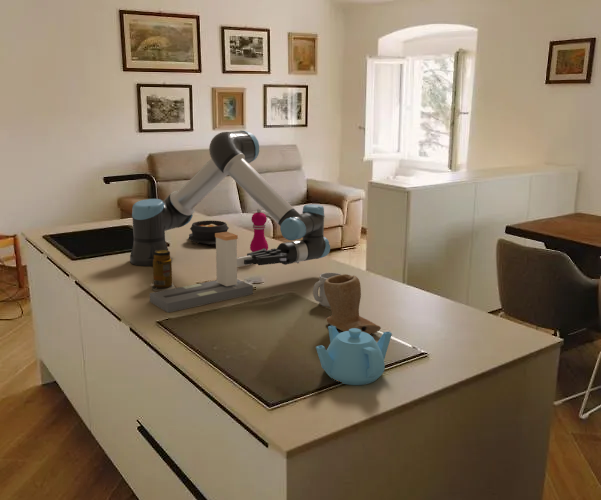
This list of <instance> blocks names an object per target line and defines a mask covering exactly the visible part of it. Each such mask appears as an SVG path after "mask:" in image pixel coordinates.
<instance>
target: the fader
mask: <svg viewBox="0 0 601 500" xmlns="http://www.w3.org/2000/svg"><path fill="white" fill-rule="evenodd" d="M215 237H216V244H215V255H216V256H215V263H216V269H215V270H216V280H217V282H218V283H220V284H222V285H224V286H231V285H236V284H237V279H238V267H237V257H238V241H237V240H238V239H239V237H238V234H236V233H232V232H229V231H227V232H221V233H215Z"/></svg>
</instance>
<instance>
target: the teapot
mask: <svg viewBox="0 0 601 500" xmlns="http://www.w3.org/2000/svg"><path fill="white" fill-rule="evenodd" d="M327 329H328V335H329V342H330V343H329V344H328V347H327V348H326V347H325V346H324V345H322V344H321V345H317V346H315V349H316V352H317V355H318V359H319V362H320V365H321V369H323V370H324V371H325V373H326V374H327V375H328V376H329V378H330V379H332V378H333V379H335V380H338V381H340V382H342V383H341V384H343V383H344V384H343V385H347V386H348V385H349V386H364V385H369V384H372V383H374V382H376V381H377V380H378V379H379V378H380V377H381V376H382V375H383V374H384V372H385V368H386V367H385V358H386V355H387V351H388V348H389V344H390V341H391V338H392V335H393V334H392V332H391V331H383V333H382V335H381V336H380V338H379V339H378V341H376V340H375V338H374V336H372V334H371V335H370V334H368V333H365V332H361V330H360V329H357V328H352V329H349V331H345V332H343V331H340V332H339V331H338V330H337V328H336V327H335V326H332V325H329V326H327ZM333 379H332V380H333ZM335 380H334V381H335Z"/></svg>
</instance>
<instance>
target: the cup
mask: <svg viewBox="0 0 601 500" xmlns="http://www.w3.org/2000/svg"><path fill="white" fill-rule="evenodd" d="M336 275H343V274H341V273H339V272H322V273H321V274H320V275H319V280H318V281H316V282H315V283H314V285H313V289H312V295H313V298H314V300H315V301H316V302H319V304H320V305H321V306H322V307H328V308H331V307H330V305H329V302H328V300H327V298H326V295H325V291H324V282H325V280H326V279H327V278H329V277H333V276H336Z"/></svg>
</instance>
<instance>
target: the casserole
mask: <svg viewBox="0 0 601 500" xmlns="http://www.w3.org/2000/svg"><path fill="white" fill-rule="evenodd" d="M229 229H230V228H229V226H228V224H227V223H226V222H224V221H220V220H200V221H195V222H193V223H192V224H191V227H190V228H189V230H190V231H191V233H189V234H188V237H187V238H188V240H190V241H191V242H194V243H196V244H200V245H210V244H211V245H216V237H215V233H221V232H228V230H229ZM211 245H210V246H211Z"/></svg>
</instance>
